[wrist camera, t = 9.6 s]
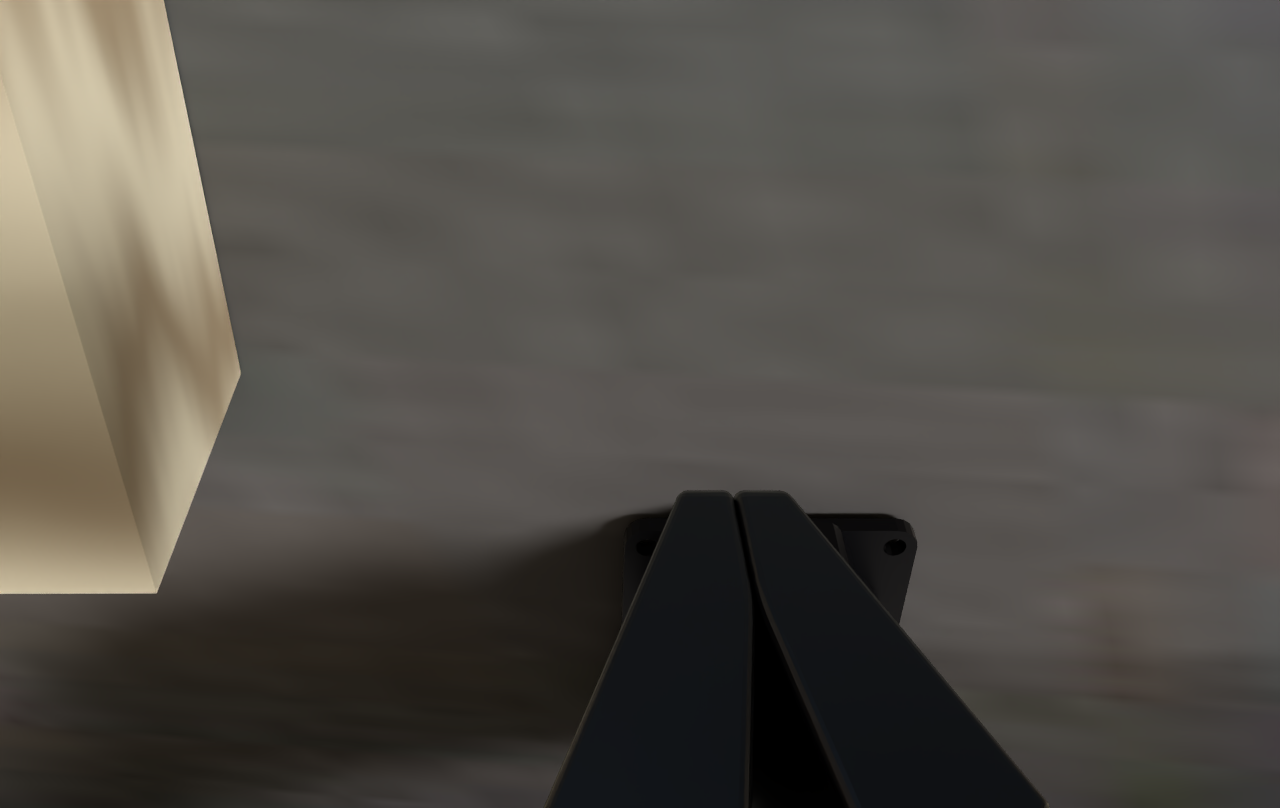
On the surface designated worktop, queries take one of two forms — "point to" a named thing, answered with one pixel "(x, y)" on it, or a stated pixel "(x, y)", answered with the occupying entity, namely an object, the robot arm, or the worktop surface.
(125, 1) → the socket block
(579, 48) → the worktop surface
